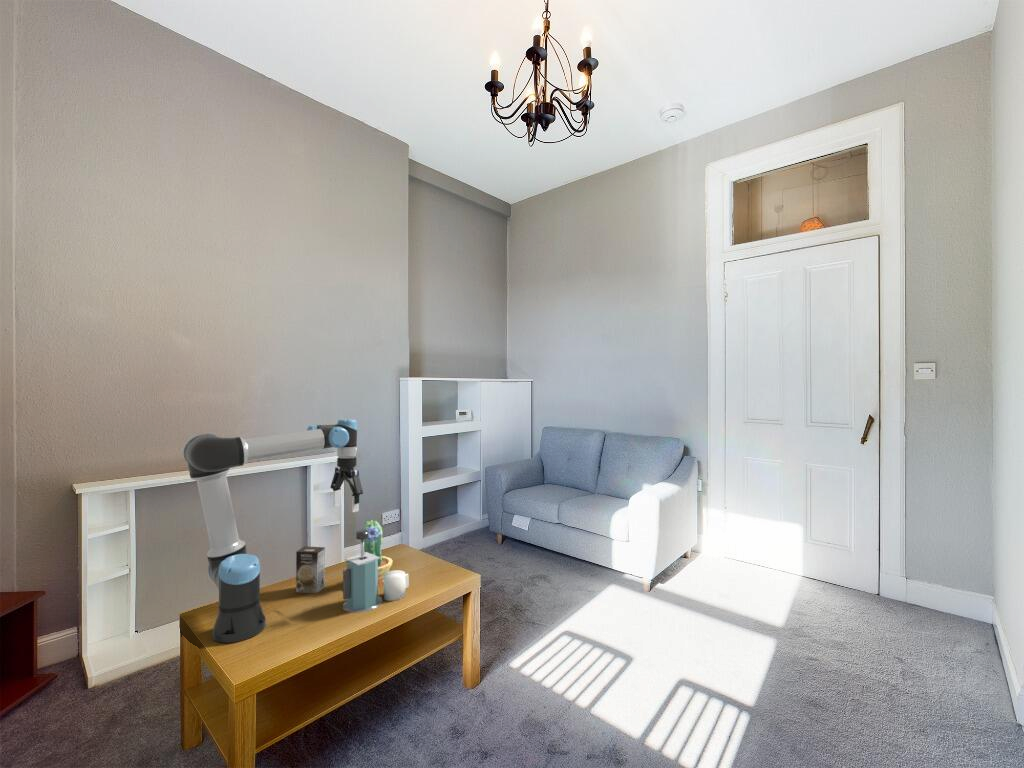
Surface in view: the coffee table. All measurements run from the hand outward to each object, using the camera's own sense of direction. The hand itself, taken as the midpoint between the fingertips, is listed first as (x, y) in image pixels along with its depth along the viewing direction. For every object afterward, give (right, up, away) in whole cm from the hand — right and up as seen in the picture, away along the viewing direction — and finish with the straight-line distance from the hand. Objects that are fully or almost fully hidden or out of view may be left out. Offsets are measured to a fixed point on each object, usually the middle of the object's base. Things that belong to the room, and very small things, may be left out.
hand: (345, 509), depth 191 cm
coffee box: (-12, -30, -6) cm, 33 cm away
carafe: (+13, -29, -21) cm, 38 cm away
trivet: (+13, -30, -20) cm, 38 cm away
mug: (+24, -30, -14) cm, 41 cm away
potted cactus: (+11, -30, 0) cm, 32 cm away
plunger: (+13, -19, -20) cm, 31 cm away
